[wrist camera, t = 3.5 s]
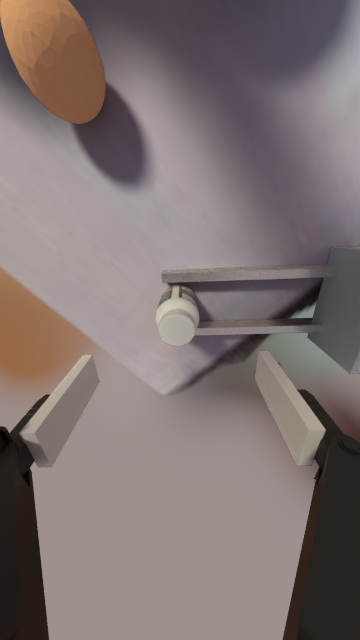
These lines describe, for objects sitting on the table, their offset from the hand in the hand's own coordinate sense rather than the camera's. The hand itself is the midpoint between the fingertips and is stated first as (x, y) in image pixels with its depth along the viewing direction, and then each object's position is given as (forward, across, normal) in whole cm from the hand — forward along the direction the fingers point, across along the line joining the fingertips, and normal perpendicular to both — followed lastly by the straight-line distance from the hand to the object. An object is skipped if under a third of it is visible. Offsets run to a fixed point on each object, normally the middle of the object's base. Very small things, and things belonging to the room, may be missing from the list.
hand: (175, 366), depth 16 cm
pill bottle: (+16, 0, 0) cm, 16 cm away
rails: (+16, +9, 0) cm, 18 cm away
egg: (+16, -9, +23) cm, 30 cm away
